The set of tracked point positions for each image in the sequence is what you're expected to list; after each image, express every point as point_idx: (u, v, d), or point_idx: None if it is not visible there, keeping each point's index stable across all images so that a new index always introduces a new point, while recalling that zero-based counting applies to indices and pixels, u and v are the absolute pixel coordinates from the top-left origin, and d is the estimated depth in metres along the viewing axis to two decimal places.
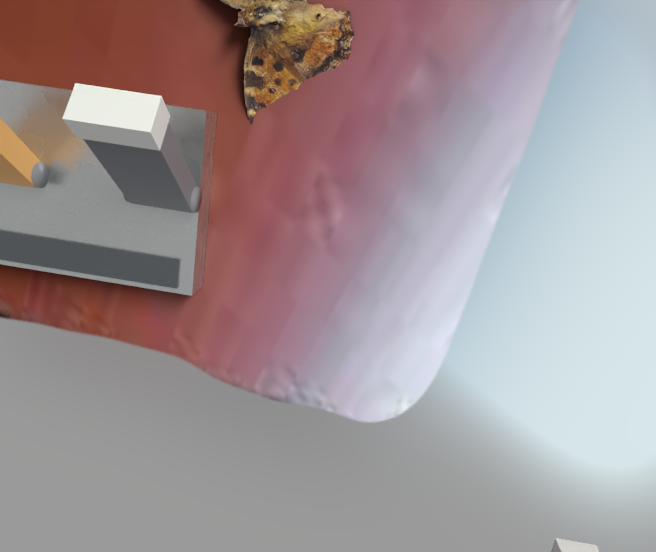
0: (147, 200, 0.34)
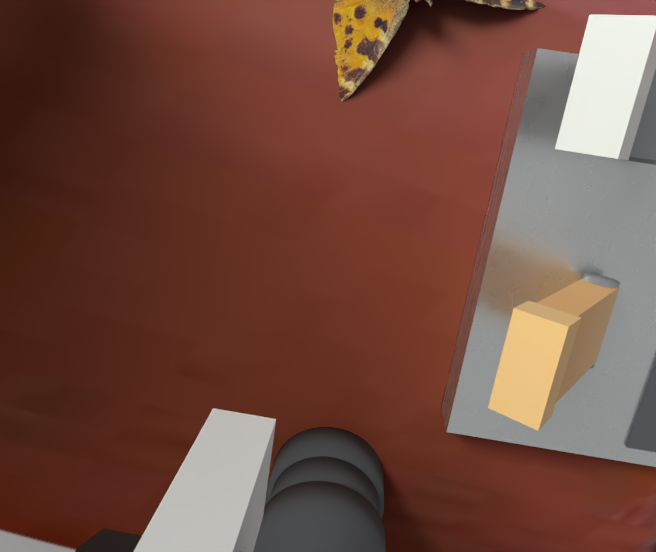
0: None
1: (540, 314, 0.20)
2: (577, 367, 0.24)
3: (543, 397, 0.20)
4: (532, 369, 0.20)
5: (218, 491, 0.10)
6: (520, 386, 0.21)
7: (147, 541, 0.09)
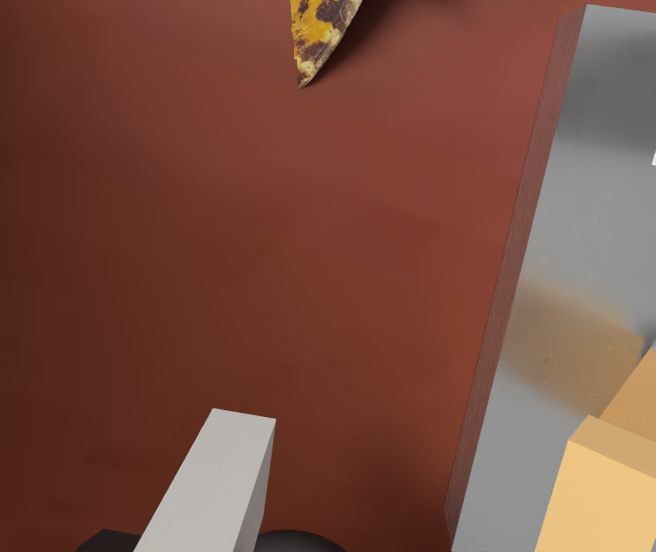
0: None
1: (616, 452, 0.11)
2: None
3: None
4: (602, 549, 0.12)
5: (218, 491, 0.10)
6: None
7: (147, 541, 0.09)
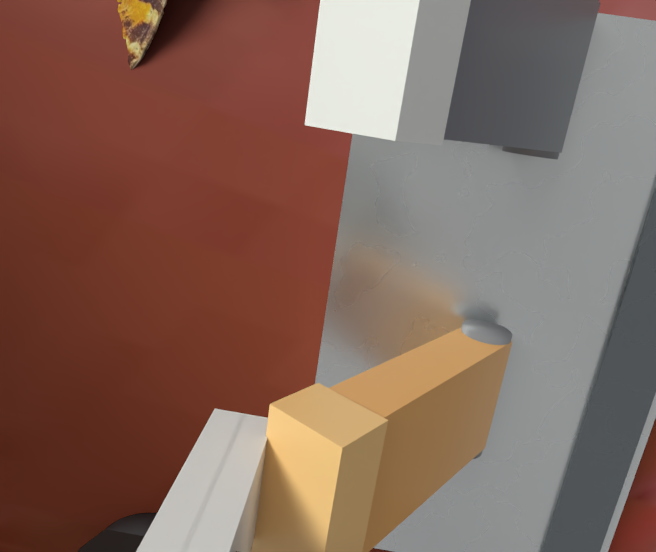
0: (565, 102, 0.15)
1: (311, 416, 0.12)
2: (428, 475, 0.15)
3: None
4: (300, 513, 0.12)
5: (215, 491, 0.10)
6: (286, 536, 0.12)
7: (149, 541, 0.09)
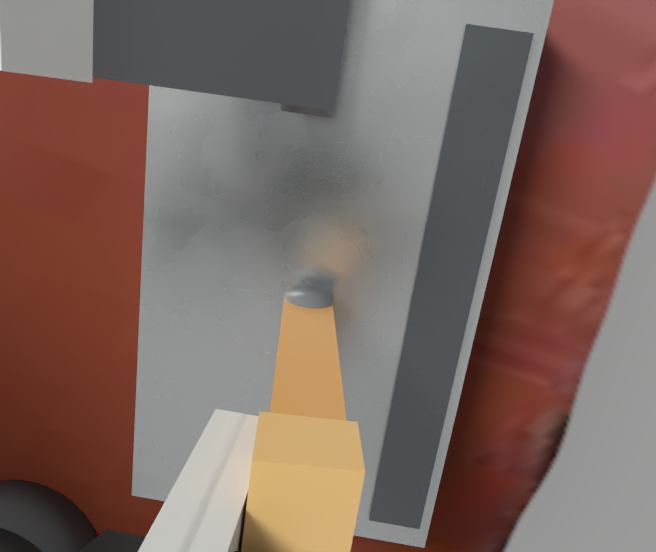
0: (323, 59, 0.15)
1: (302, 453, 0.10)
2: None
3: None
4: None
5: (214, 491, 0.10)
6: None
7: (151, 542, 0.09)
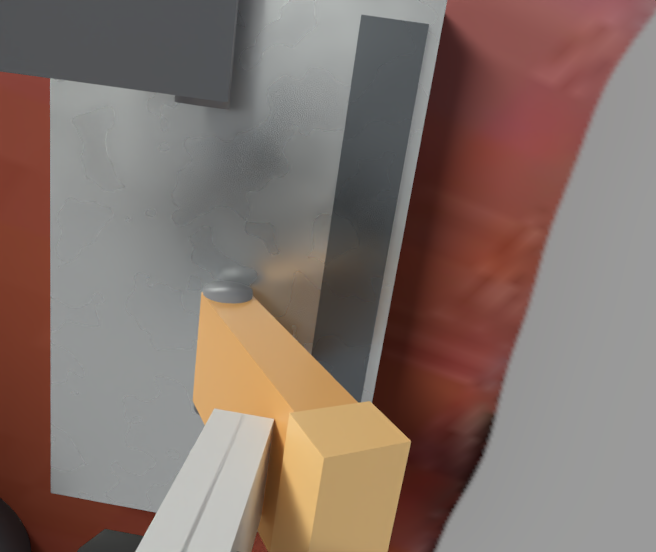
0: (210, 48, 0.15)
1: (355, 440, 0.11)
2: None
3: None
4: (362, 531, 0.11)
5: (216, 491, 0.10)
6: None
7: (149, 541, 0.09)
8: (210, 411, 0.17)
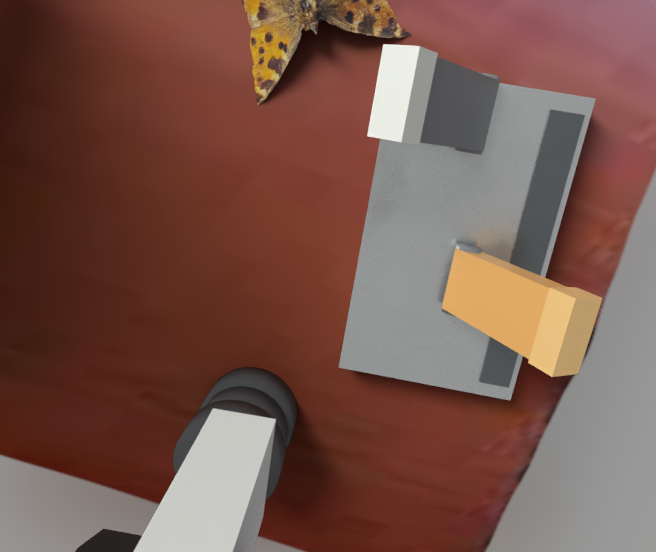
0: (483, 127, 0.32)
1: (581, 295, 0.27)
2: None
3: (584, 350, 0.28)
4: (580, 335, 0.28)
5: (218, 491, 0.10)
6: (572, 350, 0.28)
7: (147, 541, 0.09)
8: (464, 308, 0.34)
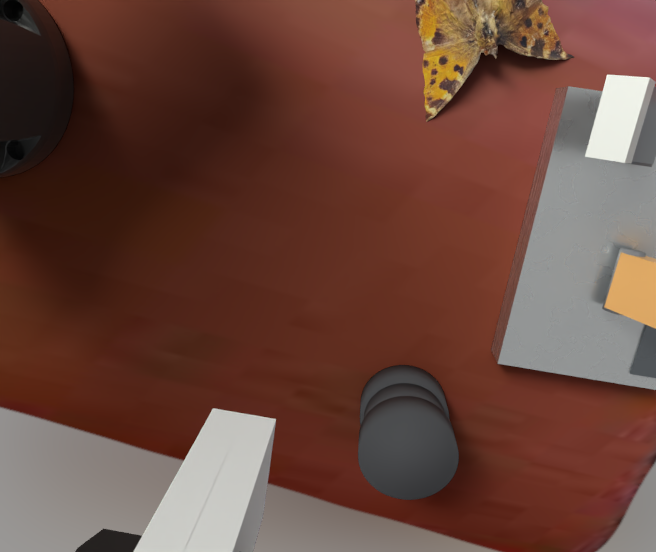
0: None
1: None
2: None
3: None
4: None
5: (218, 491, 0.10)
6: None
7: (147, 541, 0.09)
8: (633, 307, 0.37)
